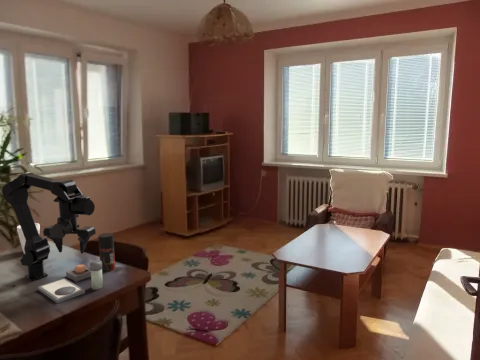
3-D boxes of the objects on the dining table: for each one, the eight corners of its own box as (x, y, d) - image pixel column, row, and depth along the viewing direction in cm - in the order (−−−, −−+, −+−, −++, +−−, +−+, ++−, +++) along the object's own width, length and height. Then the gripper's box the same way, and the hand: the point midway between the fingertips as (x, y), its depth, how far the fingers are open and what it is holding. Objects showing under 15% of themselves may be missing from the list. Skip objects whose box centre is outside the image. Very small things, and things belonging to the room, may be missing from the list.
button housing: (66, 276, 153) (66, 271, 152) (85, 270, 159) (84, 265, 158) (75, 281, 148) (75, 276, 147) (94, 275, 154) (94, 270, 153)
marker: (89, 287, 143) (87, 262, 141) (99, 283, 146) (98, 259, 144) (95, 290, 140) (93, 265, 138) (105, 287, 143) (103, 262, 141)
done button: (73, 272, 153) (72, 266, 152) (82, 269, 156) (82, 263, 155) (78, 275, 150) (77, 269, 150) (87, 272, 153) (87, 266, 153)
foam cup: (28, 248, 186) (25, 222, 183) (46, 248, 185) (43, 223, 182) (15, 255, 176) (12, 228, 174) (33, 255, 175) (31, 228, 173)
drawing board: (38, 289, 141) (37, 286, 140) (64, 280, 148) (64, 277, 148) (57, 303, 130) (56, 299, 130) (84, 293, 138) (84, 289, 138)
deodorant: (110, 272, 157) (108, 237, 154) (97, 271, 158) (95, 236, 155) (117, 266, 162) (115, 233, 160) (105, 265, 164) (103, 232, 161)
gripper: (30, 218, 136) (35, 259, 139) (77, 220, 133) (81, 261, 135) (51, 210, 147) (54, 248, 149) (94, 212, 144) (97, 251, 146)
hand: (71, 252), depth 145 cm, fingers open, 9 cm apart
